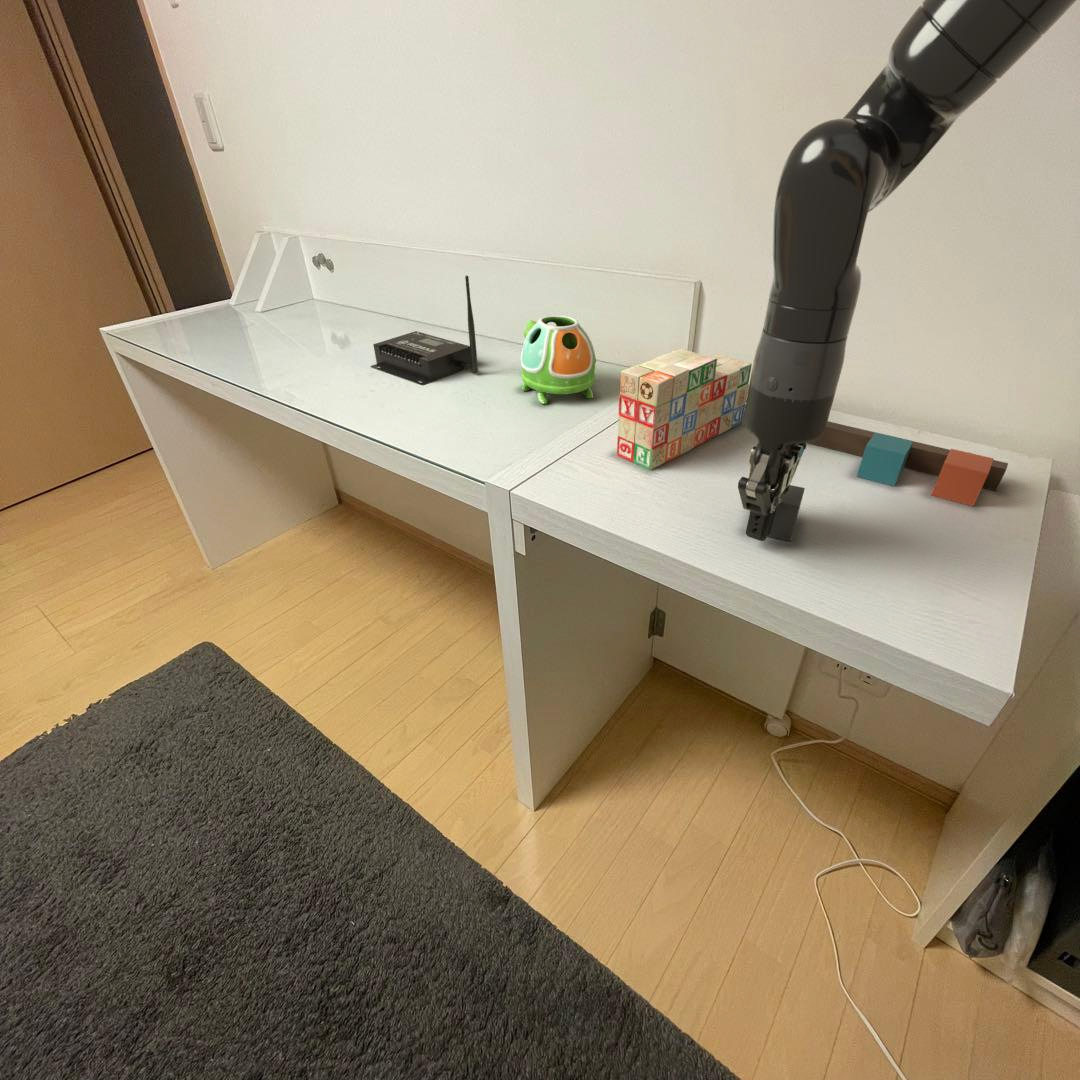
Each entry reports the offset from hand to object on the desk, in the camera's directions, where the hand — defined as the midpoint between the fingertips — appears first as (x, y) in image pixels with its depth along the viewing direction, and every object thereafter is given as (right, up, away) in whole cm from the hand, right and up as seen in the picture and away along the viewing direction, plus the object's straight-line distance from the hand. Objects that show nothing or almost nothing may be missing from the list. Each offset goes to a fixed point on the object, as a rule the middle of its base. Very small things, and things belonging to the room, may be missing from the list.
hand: (757, 535), depth 66 cm
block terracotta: (+27, +5, +9) cm, 29 cm away
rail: (+24, +10, +16) cm, 30 cm away
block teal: (+20, +8, +13) cm, 25 cm away
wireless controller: (-44, +32, +50) cm, 74 cm away
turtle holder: (-21, +26, +40) cm, 52 cm away
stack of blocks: (-3, +14, +23) cm, 27 cm away
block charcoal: (+3, +1, +4) cm, 5 cm away
